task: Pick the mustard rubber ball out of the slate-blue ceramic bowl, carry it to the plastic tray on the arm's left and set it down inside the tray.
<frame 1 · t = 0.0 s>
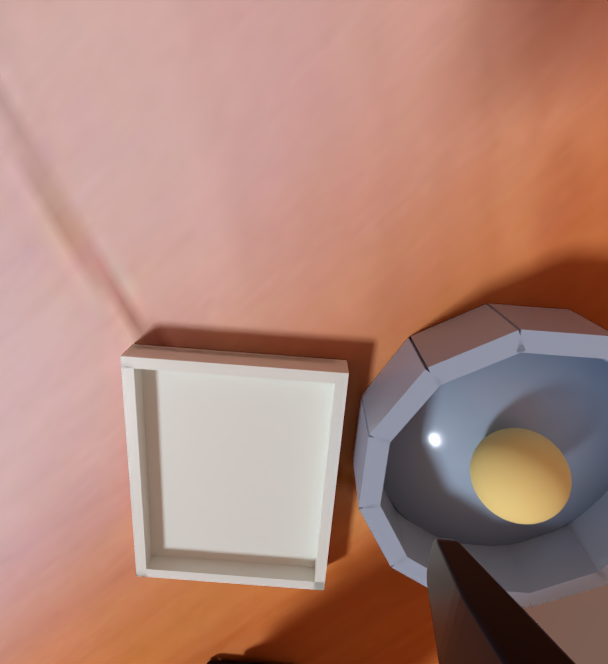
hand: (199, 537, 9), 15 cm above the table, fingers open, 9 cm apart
tray: (237, 466, 26), on the table
ball: (518, 474, 22), point 3 cm above the table, touching bowl
bowl: (495, 439, 25), on the table
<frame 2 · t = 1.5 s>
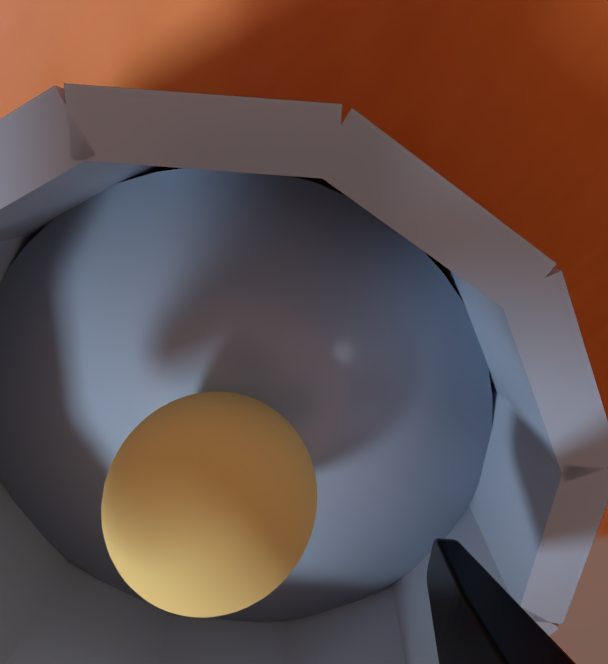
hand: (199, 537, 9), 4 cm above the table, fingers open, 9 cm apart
ball: (214, 495, 10), point 3 cm above the table, touching bowl
bowl: (237, 421, 12), on the table
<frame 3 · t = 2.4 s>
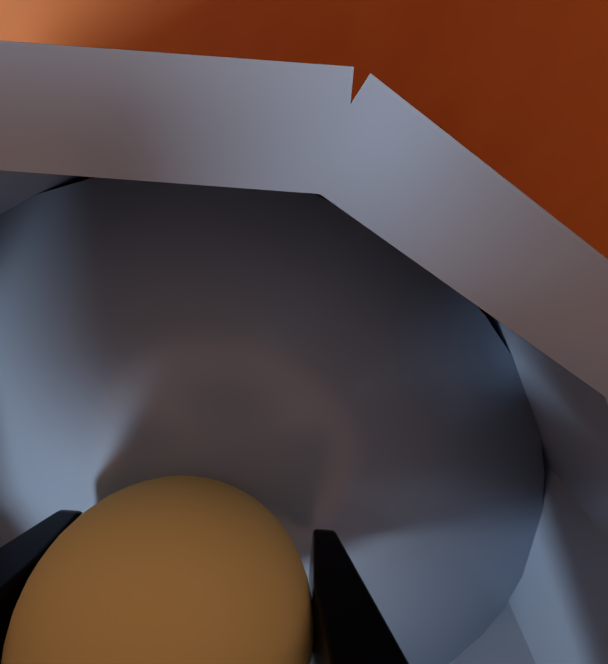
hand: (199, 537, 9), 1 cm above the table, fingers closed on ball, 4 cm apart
ball: (171, 625, 7), point 3 cm above the table, touching bowl, gripper
bowl: (213, 493, 10), on the table
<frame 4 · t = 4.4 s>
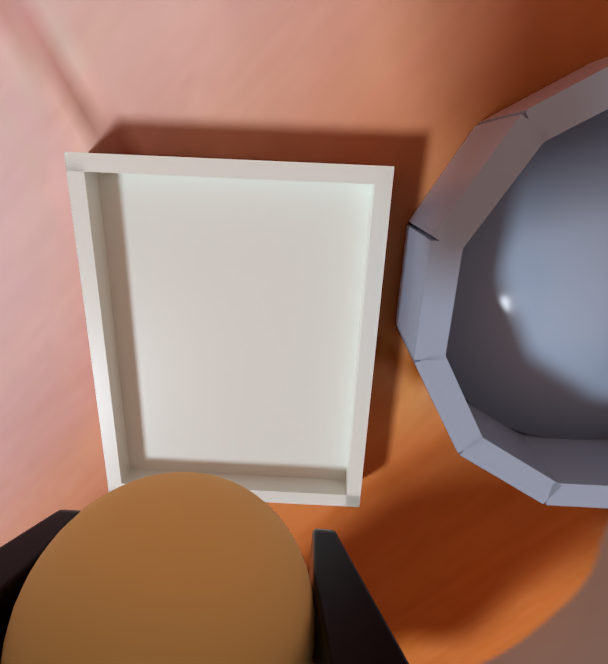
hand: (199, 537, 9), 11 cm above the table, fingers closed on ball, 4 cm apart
tray: (238, 338, 19), on the table
ball: (172, 621, 7), point 13 cm above the table, touching gripper
bowl: (594, 284, 18), on the table
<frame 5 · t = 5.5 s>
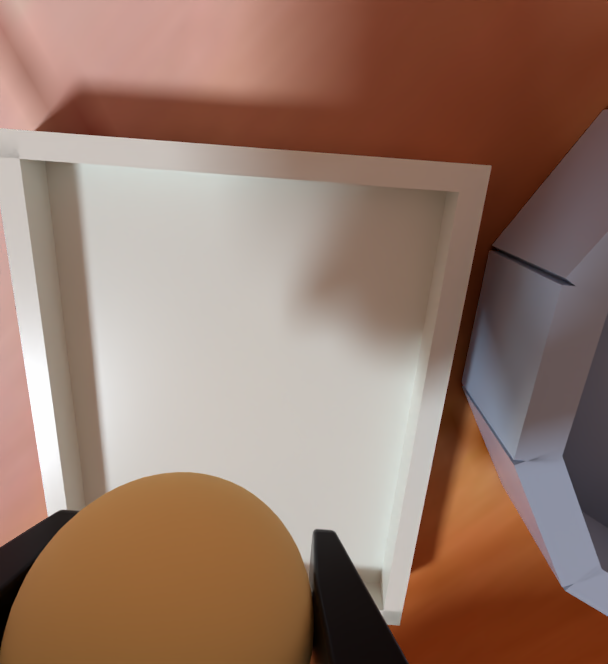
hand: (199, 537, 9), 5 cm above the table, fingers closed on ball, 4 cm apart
tray: (243, 396, 14), on the table
ball: (170, 622, 7), point 7 cm above the table, touching gripper
when the fingers open (3 cm above the table, at t = 6.4 s): ball drops 2 cm, resting on tray.
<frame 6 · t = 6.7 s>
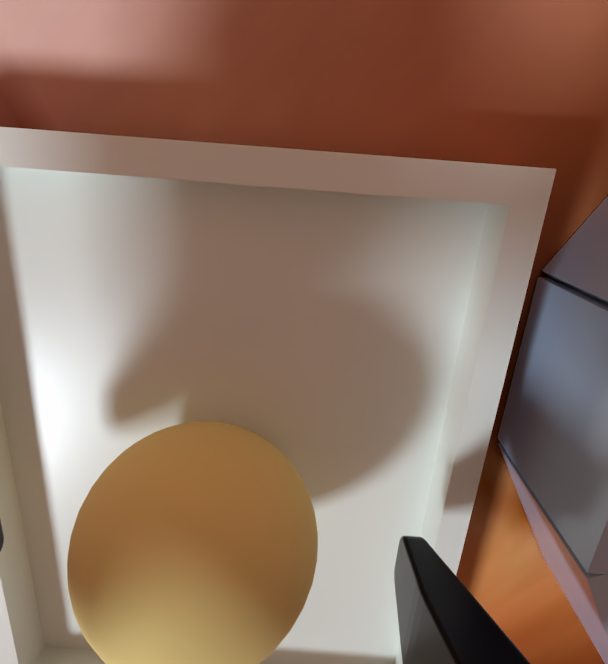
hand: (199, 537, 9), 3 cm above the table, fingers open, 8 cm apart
tray: (225, 454, 11), on the table
ball: (200, 541, 8), point 3 cm above the table, touching tray
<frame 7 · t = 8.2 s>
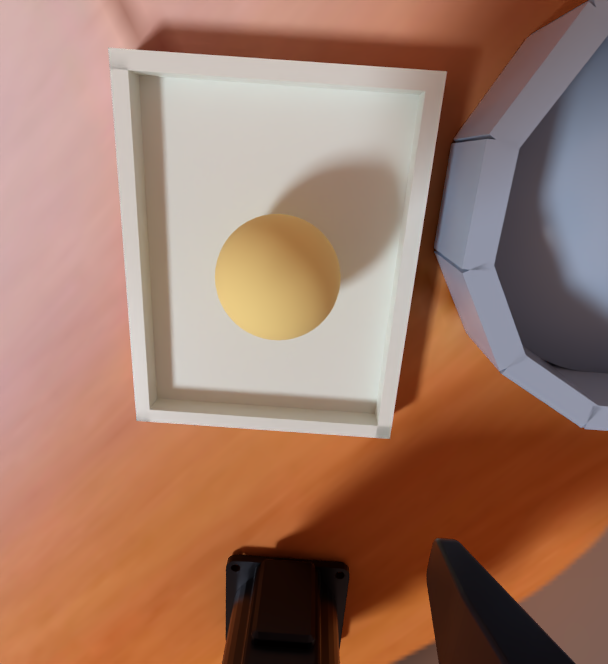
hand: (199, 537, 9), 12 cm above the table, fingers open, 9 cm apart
tray: (273, 262, 19), on the table
ball: (278, 278, 16), point 3 cm above the table, tilted 12°, touching tray
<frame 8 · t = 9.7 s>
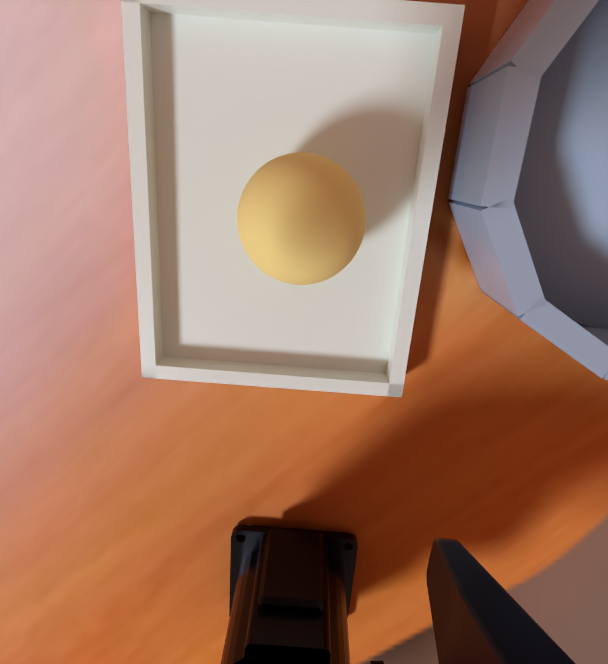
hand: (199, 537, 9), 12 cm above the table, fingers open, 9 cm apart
tray: (283, 213, 18), on the table
ball: (301, 220, 16), point 3 cm above the table, tilted 21°, touching tray
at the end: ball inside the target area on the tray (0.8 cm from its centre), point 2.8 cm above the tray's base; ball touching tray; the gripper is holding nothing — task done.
